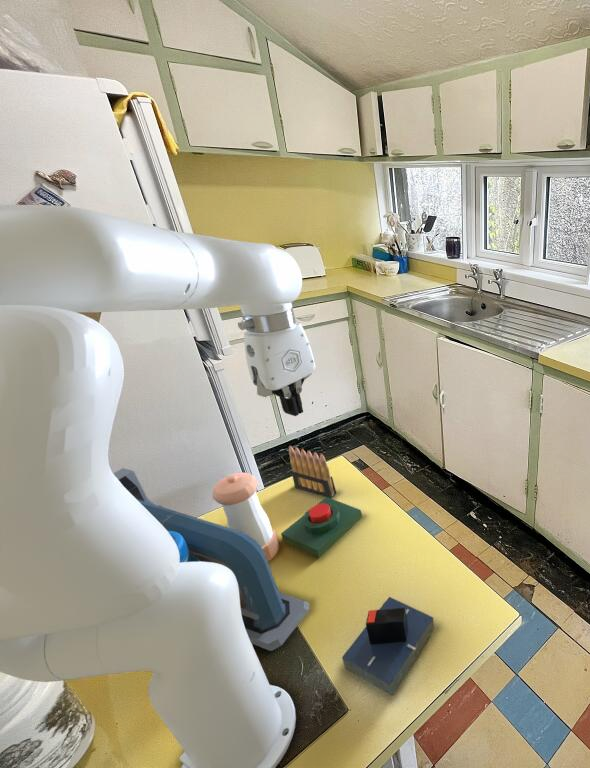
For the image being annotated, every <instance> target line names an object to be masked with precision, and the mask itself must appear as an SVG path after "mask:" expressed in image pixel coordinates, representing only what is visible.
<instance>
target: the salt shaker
mask: <svg viewBox="0 0 590 768" xmlns="http://www.w3.org/2000/svg"><path fill="white" fill-rule="evenodd" d="M258 487H259V481H258V479H257V478H256V476H254V475H253V474H251V473H249V472H236V473H232V474H228V475H227V476H225V477H224V476H223V478H221V479H220V480H218V481H217V483H215V485H214V487H213V488H212V492H211V494H212V500H214V501H215V502H216V503H217V504H218V505H221V506H222V509H223V511H224V514H225V516H226V521H227V527H228V528H231V529H234V530H237V531H240V532H243V533H245V534H247V535H249V536H250V537H251V538H253V539H254V540H255V541H256V542H257V543H258V544H259V545H260V546H261V548H262V550H263V552H264V554H265V556H266V559H267V562H268V563H269V561H270V560H272V559H273V558H274V557H275V556H276V555H277V553H278V552H279V549H280V543H279V540H278V537H277V534H276V531H275V529H274V528H272V526H271V521H270V519H269V516H268V515H267V513H266V511H265V510H264V508H263V507H262V505H261V502H260V501H259V498H258V494H257V490H258Z"/></svg>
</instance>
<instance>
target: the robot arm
mask: <svg viewBox="0 0 590 768" xmlns="http://www.w3.org/2000/svg"><path fill="white" fill-rule="evenodd" d="M302 288H303V275H302V272H301V268H300V267H299V264H298V263H297V260H295V258H294V257H293V256H292V255H291V254H290V253H289V252H287V251H286V250H285V249H281V248H278V247H276V246H275V245H273V244H271V243H266V242H249V241H241V240H234V239H228V238H227V239H226V238H220V237H215V236H210V235H206V234H205V235H203V234H198V233H190V232H182V231H175V230H171V229H166V228H163V227H159V226H154V225H150V224H146V223H144V222H143V223H142V222H139V221H135V220H131V219H128V218H123V217H119V216H116V215H111V214H108V213H104V212H99V211H95V210H91V209H86V208H82V207H81V208H80V207H75V206H65V205H51V204H48V205H47V204H0V673H2V674H5V675H8V676H11V677H14V678H17V679H20V680H26V681H29V682H30V681H31V682H39V683H52V682H62V681H73V680H78V679H80V680H81V679H86V678H92V677H93V678H95V677H101V676H107V675H120V674H126V673H135V672H152V674H151V677H150V679H149V682H148V683H149V684H148V698H149V702H150V704H151V706H152V708H153V710H154V711H155V712H156V714H157V715H158V716H159V718H160V719H161V720H162V722H163V723H164V725H165V726H166V727H167V729H168V730H169V732H170V733H171V734H172V736H173V737H174V739H175V740H176V742H177V743H178V745H179V746H180V747H181V749H182V750H183V752H182V754H181V755H180V756H179V760H180V762H181V763H182V766H181V767H180V768H276V767H277V766H278V765H279V763H281V761H282V759H283V757H284V756H285V754H286V753H287V750H288V749H289V746H290V744H291V741H292V739H293V736H294V733H295V729H296V721H297V713H296V707H295V704H294V701H293V699H292V698H291V696H290V694H289V693H288V692H287V691H286V690H285V689H283V688H281V687H279V686H276V685H272V684H270V683H269V682H270V681H269V680H268V678H267V675H266V673H265V671H264V669H263V666H262V664H261V662H260V660H259V657H258V655H257V653H256V651H255V649H254V646H253V644H252V643H251V641H250V639H249V637H248V634H247V632H246V629H245V626H244V623H243V619H242V615H241V608H240V597H239V588H238V583H237V580H236V577H235V575H234V573H233V572H232V571H231V570H230V569H229V568H227V567H226V566H223V565H221V564H218V563H212V562H180V554H179V550H178V548H177V545H176V543H175V541H174V540H173V538H172V537H171V535H170V534H169V532H168V531H167V530H166V529H165V528H164V527H163V526H162V524H161V523H160V522H159V521H158V520H157V519H156V518H155V517H154V516H153V515H152V514H151V513H150V512H149V511H148V510H147V509H146V508H145V507H144V506H143V505H142V504H141V503H140V502H139V501H138V500H137V499H136V498H135V497H134V496H133V495H132V494H131V493H130V492H129V491H128V490H127V489H126V488H125V487H124V486H123V485H122V484H121V483H120V481H119V480H118V479H117V478H116V477H115V475H114V474H113V473H114V472H113V470H112V469H111V467H110V461H109V448H110V441H111V435H112V430H113V426H114V422H115V418H116V413H117V410H118V406H119V401H120V397H121V395H122V390H123V386H124V379H125V370H124V369H125V367H124V359H123V356H122V353H121V350H120V347H119V345H118V343H117V341H116V340H115V338H114V336H113V335H112V334H111V332H110V331H109V330H108V329H107V328H106V327H104V325H102V324H101V323H100V322H98V321H97V320H95V319H94V318H92V317H90V316H87V315H85V314H82V313H112V312H113V313H115V312H140V311H145V312H146V311H179V310H181V311H182V310H205V309H216V308H217V309H218V308H225V307H232V306H233V307H234V306H239V308H240V312H241V317H242V320H241V321H239V322H237V328H239V329H240V330H241V331H244V330H246V331H245V332H244V333H243V341H244V343H243V344H244V352H245V359H246V365H247V368H248V373H249V376H250V378H251V382H252V384H253V385H254V386H256V394H257V396H260V397H263V398H266V397H271V396H273V395H274V396H276V397H278V398H279V401H280V404H281V408H282V411H283V412H284V413H285V414H287V415H290V416H293V417H297V416H299V415H300V414H303V413H304V409H303V408H304V407H303V402H302V398H301V393H302V391H303V387H302V386H303V384H304V382H305V380H307V379H308V378H309V377H310V376H311V375H312V374H313V373H314V372H315V370H316V363H315V358H314V354H313V351H312V347H311V345H310V341H309V339H308V336H307V334H306V332H305V329H304V327H303V325H302V324H301V322H300V321H297V320H296V318H295V313H294V308H293V304H292V303H293V302H294V301H296V300H297V299H298V297H299V296H300V295H301V291H302Z"/></svg>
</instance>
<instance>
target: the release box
mask: <svg viewBox="0 0 590 768" xmlns="http://www.w3.org/2000/svg"><path fill="white" fill-rule="evenodd" d="M318 504H328V505H329V506H330V510H331V516H330V518H329V519H328V520H326V521H324V522H322V523H313V522H312V521H311V519H310V516H309V511H310V509H311V508H309V509H308V510H307V511H306V512H304V514H303V515H302V516H301V517H300V518H298V519H297V520H296V521H294V522H293V523H292V524H290V526H289V527H287V528H286V529H285V530H283V531H282V532H281V533H280V535H281V539H282V541H283V543H286V544H288V545H290V546H293V547H295V548H297V549H299V550H301V551H303V552H306V553H308V554H310V555H312V556H314V557H316V558H318V559H320V558H321V557H322V556H323V555H325V554H326V553H327V552H328V551H329V550H330V549H331V548H332V547H333V546H334V545H336V543H337V542H339V540H340V539H342V537H344V535H346V533H347V532H349V531H350V530H351V529H352V528H353V527H354V526H355V525H356V524H357V523H358V522H359V521H360V520H361V519H362V518H363V515H362V510H361V509H359V508H357V507H354V506H352V505H349V504H346V503H343V502H341V501H338V500H336V499H334V498H328V497H324V498H323V499H322V500H320V501H319V502H318V503H317V504H316V505H318Z"/></svg>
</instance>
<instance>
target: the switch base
mask: <svg viewBox="0 0 590 768" xmlns="http://www.w3.org/2000/svg"><path fill="white" fill-rule="evenodd" d="M397 608H405V610H406V616H407V623H408V634H407V641H406V642H395V643H383V644H372V645H370V641H369V636H368V632H367V627H366V622H365V623H364V625H365V627H364V628H363V630H362V631H361V632H360V633H359V635H358V636H357V637H356V639H355V640H354V641H353V643H352V644H351V645H350V646H349V648H347V650H346V651H345V653H344V654H343V655H342V657H341V659H342V663H343V666H344V669H345V670H347V671H348V672H351V673H352V674H354V675H355V676H357V677H359V678H361V679H362V680H364V681H366V682H368V683H369V684H371V685H373V686H374V687H376V688H378V689H380V690H381V691H383V692H385V693H386V694H388V695H391V696H394V694H395V693H396V691H397V690H398V687H399V686H400V684H401V683H402V681H403V680H404V678H405V676H406V675H407V673H408V672H409V670H410V669H411V667H412V665H413V664H414V662H415V661H416V659H417V657H418V656H419V654H420V652H421V651H422V649H423V648H424V646H425V645H426V643H427V642H428V640H429V638H430V636H431V635H432V633H433V632H434V631H435V622H434V621H435V620H434V616H432V615H429V614H427V613H425V612H423V611H421V610H419V609H416V608H414V607H412V606H410V605H408V604H405V603H403V602H402V601H399V600H398V599H395V598H392V597H391V596H388V597H387V599H386V600H385V602H384V603H383V604H382V606H381V607H380V608H379V609H378V610H385V609H397Z"/></svg>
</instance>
